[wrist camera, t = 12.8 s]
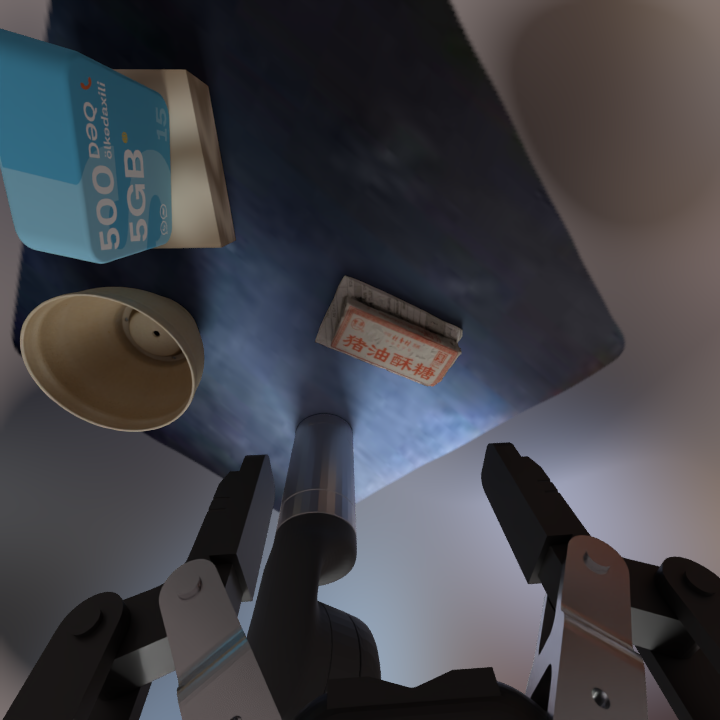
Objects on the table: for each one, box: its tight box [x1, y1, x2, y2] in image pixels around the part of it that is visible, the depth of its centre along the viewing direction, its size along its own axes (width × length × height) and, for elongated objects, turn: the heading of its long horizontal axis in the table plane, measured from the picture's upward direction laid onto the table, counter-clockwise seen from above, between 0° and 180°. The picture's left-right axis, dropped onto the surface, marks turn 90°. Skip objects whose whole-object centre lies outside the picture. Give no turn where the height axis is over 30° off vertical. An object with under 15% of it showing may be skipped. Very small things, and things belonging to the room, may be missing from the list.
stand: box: [113, 69, 236, 248], centre depth 32 cm, size 14×11×5 cm
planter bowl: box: [20, 287, 204, 432], centre depth 38 cm, size 16×16×11 cm
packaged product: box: [315, 276, 462, 386], centre depth 42 cm, size 18×5×10 cm
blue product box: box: [0, 29, 172, 264], centre depth 24 cm, size 12×4×12 cm, turn 166°
